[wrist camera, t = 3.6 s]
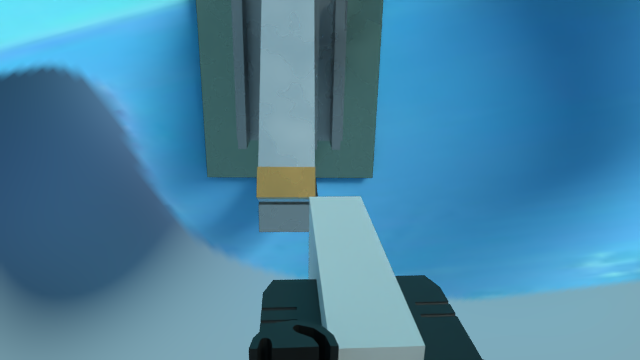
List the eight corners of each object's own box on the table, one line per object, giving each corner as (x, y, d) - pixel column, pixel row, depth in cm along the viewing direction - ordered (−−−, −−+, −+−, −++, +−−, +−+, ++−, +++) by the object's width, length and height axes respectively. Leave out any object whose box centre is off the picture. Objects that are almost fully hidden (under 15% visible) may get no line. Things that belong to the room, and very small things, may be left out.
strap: (260, -52, 28) (258, -72, 26) (316, -50, 28) (317, -71, 26) (255, 201, 25) (252, 197, 23) (317, 202, 25) (319, 197, 23)
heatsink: (195, -60, 33) (157, -89, 24) (384, -54, 34) (415, -81, 25) (210, 184, 40) (184, 232, 31) (369, 184, 40) (390, 231, 31)
